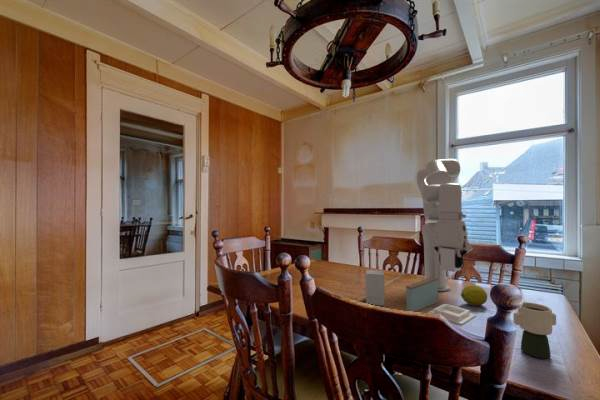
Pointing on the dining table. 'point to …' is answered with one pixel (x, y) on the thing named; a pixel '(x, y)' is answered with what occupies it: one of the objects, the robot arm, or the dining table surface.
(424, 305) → the door board
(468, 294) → the lemon
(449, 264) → the block
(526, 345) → the character mug
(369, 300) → the supplement box
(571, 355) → the dining table surface
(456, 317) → the cradle
